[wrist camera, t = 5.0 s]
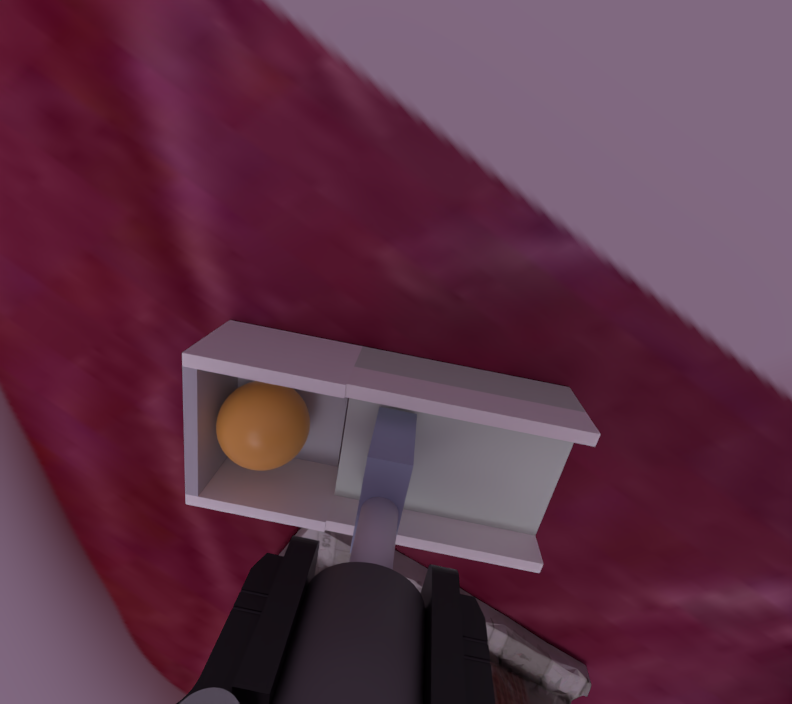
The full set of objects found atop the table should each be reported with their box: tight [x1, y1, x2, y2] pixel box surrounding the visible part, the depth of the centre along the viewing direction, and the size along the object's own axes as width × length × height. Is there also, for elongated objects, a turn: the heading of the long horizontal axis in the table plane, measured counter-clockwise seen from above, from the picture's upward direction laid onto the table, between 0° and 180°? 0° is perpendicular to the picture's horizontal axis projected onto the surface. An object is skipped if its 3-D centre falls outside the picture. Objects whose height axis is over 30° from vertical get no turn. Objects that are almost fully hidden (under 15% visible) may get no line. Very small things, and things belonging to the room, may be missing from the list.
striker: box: [271, 407, 425, 704], centre depth 11 cm, size 3×4×10 cm
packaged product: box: [279, 528, 591, 704], centre depth 22 cm, size 18×5×10 cm
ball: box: [216, 381, 310, 471], centre depth 16 cm, size 4×4×4 cm
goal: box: [182, 320, 363, 532], centre depth 17 cm, size 6×6×4 cm
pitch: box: [325, 346, 601, 573], centre depth 17 cm, size 8×6×3 cm
